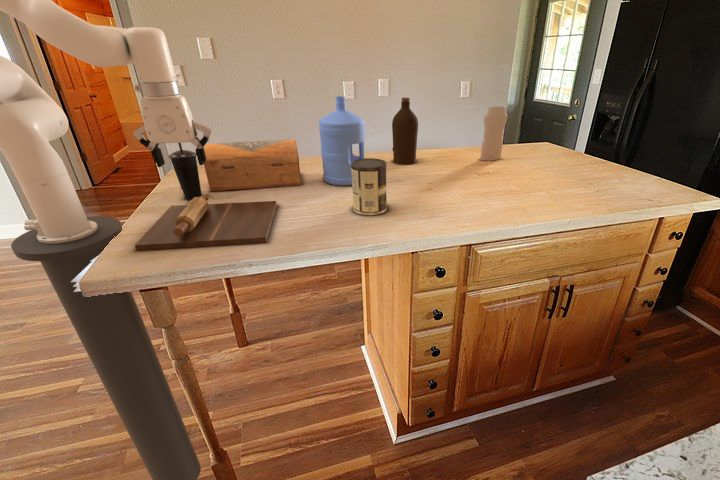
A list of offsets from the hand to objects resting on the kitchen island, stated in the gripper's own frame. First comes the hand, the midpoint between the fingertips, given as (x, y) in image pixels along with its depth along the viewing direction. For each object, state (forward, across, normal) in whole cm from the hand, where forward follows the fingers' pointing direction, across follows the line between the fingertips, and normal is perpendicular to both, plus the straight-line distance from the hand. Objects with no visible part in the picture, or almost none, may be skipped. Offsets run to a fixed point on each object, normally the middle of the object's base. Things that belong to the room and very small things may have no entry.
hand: (182, 164), depth 98 cm
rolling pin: (+13, -1, 0) cm, 13 cm away
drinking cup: (+17, -8, +24) cm, 30 cm away
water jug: (+18, +41, +36) cm, 57 cm away
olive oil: (+18, +67, +58) cm, 90 cm away
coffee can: (+18, +47, +6) cm, 51 cm away
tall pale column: (+18, +105, +57) cm, 121 cm away
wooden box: (+17, +10, +38) cm, 43 cm away
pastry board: (+17, +4, 0) cm, 17 cm away
